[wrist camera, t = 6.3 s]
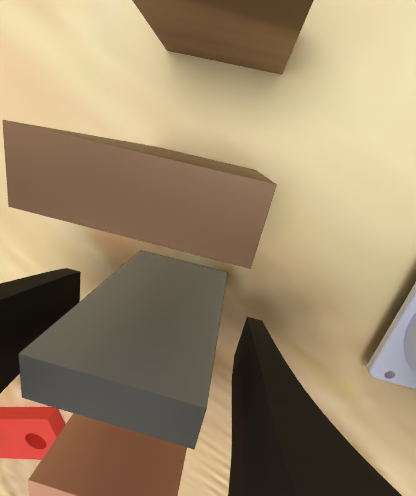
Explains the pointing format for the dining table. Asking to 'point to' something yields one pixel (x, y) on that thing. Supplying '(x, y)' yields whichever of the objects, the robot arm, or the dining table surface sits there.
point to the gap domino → (134, 350)
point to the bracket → (28, 431)
